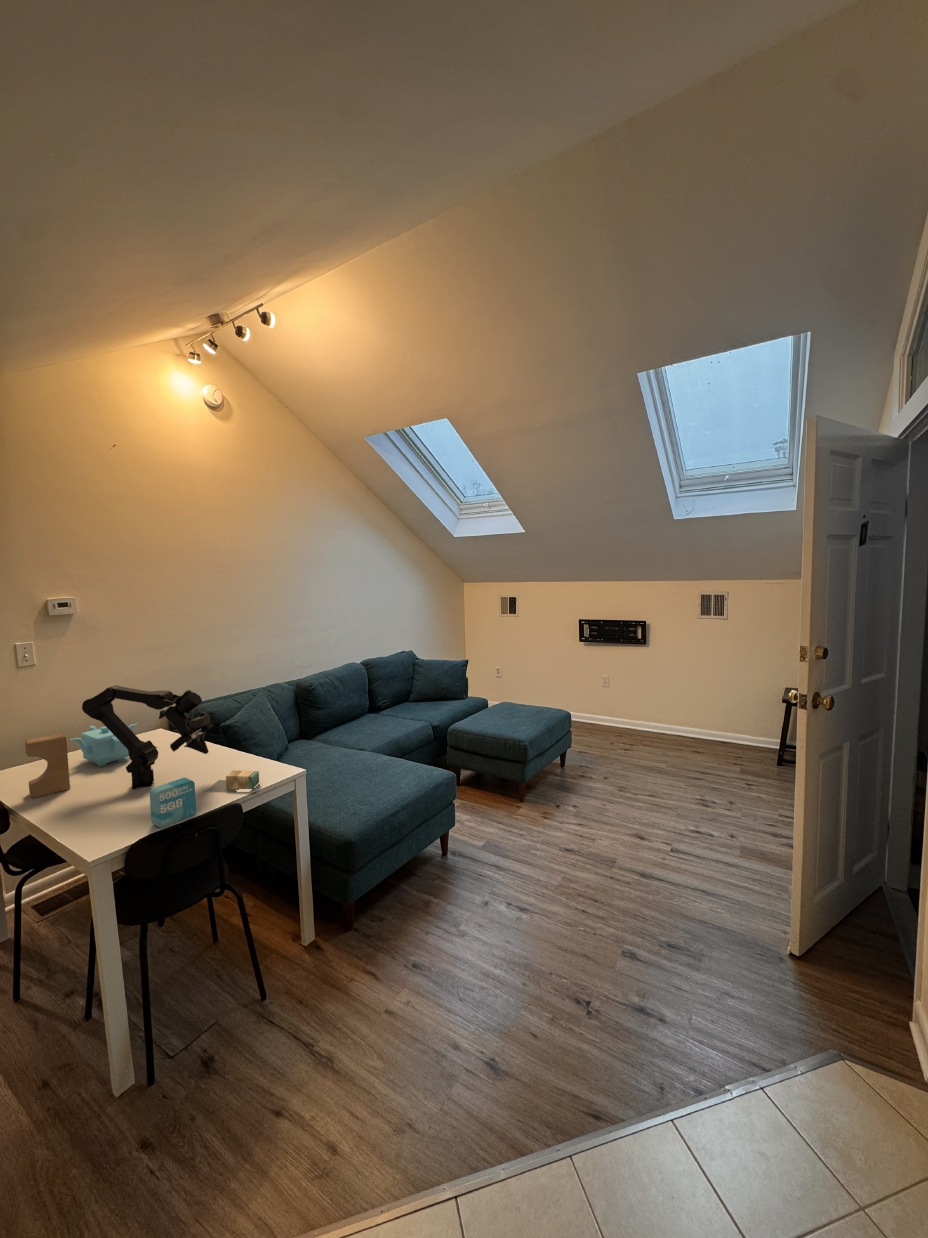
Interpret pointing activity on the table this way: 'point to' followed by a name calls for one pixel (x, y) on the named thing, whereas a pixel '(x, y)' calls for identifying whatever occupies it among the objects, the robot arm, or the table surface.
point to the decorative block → (49, 764)
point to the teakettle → (102, 746)
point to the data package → (172, 802)
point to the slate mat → (220, 787)
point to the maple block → (242, 779)
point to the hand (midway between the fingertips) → (207, 753)
